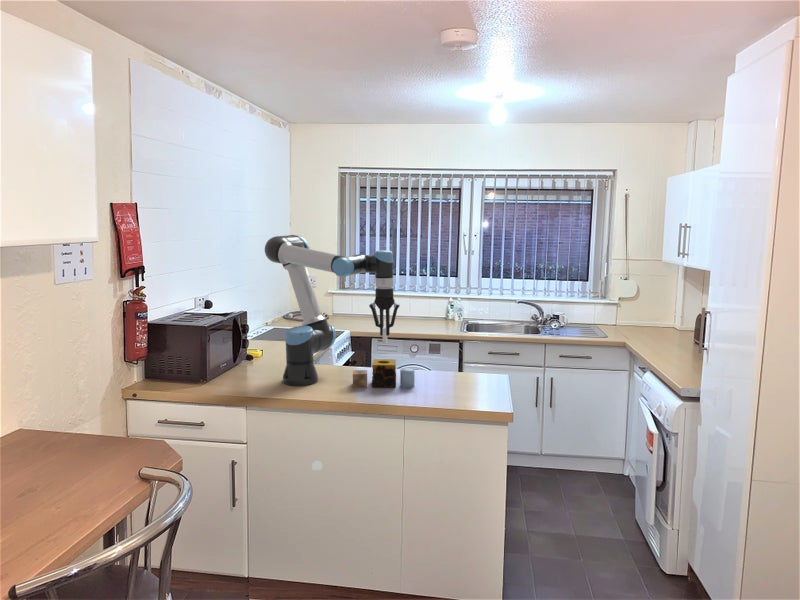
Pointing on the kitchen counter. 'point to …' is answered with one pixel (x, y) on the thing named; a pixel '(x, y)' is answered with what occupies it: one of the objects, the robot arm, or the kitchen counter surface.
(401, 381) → the blue cylinder
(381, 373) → the candle
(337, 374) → the kitchen counter surface
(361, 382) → the brown jar
